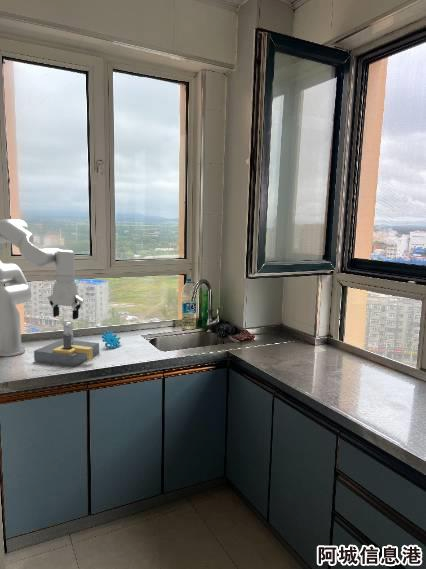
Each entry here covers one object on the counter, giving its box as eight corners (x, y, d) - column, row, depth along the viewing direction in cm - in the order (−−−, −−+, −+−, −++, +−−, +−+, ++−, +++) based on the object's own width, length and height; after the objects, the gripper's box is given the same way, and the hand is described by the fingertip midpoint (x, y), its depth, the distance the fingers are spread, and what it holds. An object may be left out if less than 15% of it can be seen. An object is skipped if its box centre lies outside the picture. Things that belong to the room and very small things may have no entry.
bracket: (52, 358, 186) (52, 347, 185) (65, 352, 195) (65, 342, 194) (85, 362, 182) (84, 351, 181) (96, 356, 190) (96, 345, 189)
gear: (107, 347, 204) (99, 330, 208) (101, 354, 207) (93, 337, 211) (125, 346, 213) (117, 329, 217) (119, 352, 215) (111, 336, 219)
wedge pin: (62, 361, 188) (61, 335, 186) (67, 359, 191) (66, 333, 190) (68, 362, 187) (67, 335, 186) (73, 360, 190) (72, 334, 189)
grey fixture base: (34, 361, 187) (32, 328, 185) (62, 349, 206) (61, 318, 204) (73, 367, 182) (72, 332, 179) (99, 353, 201) (98, 322, 198)
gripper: (42, 278, 183) (43, 317, 185) (77, 281, 178) (77, 321, 181) (53, 276, 190) (54, 313, 193) (87, 279, 185) (88, 317, 188)
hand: (65, 317), depth 187 cm, fingers open, 9 cm apart
